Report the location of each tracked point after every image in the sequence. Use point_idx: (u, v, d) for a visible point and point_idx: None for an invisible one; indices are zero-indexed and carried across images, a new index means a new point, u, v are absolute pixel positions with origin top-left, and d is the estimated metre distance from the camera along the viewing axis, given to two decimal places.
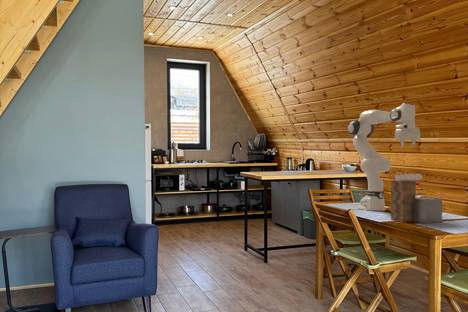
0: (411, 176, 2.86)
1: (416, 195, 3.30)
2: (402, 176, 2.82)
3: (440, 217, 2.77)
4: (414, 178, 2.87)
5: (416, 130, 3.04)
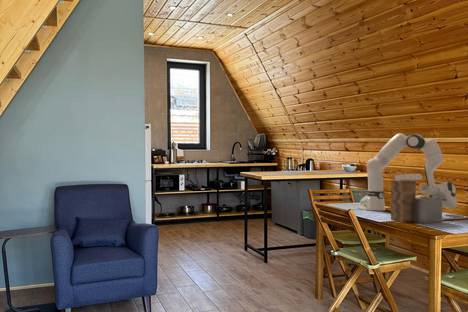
0: (411, 176, 2.86)
1: (416, 195, 3.30)
2: (402, 176, 2.82)
3: (440, 217, 2.77)
4: (414, 178, 2.87)
5: (428, 194, 3.04)
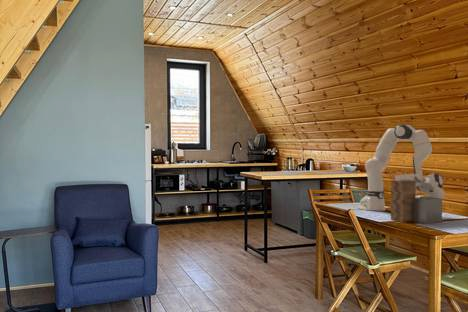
0: (411, 176, 2.86)
1: (416, 195, 3.30)
2: (402, 176, 2.82)
3: (440, 217, 2.77)
4: (414, 178, 2.87)
5: None
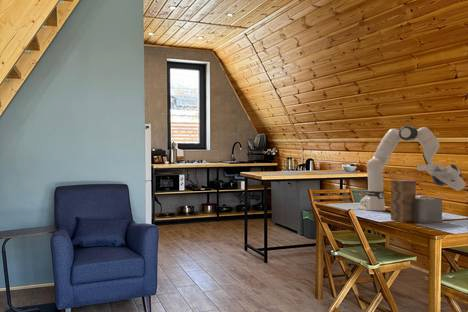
0: (433, 166, 2.88)
1: (416, 195, 3.30)
2: (424, 166, 2.84)
3: (440, 217, 2.77)
4: (436, 168, 2.89)
5: (436, 175, 3.00)
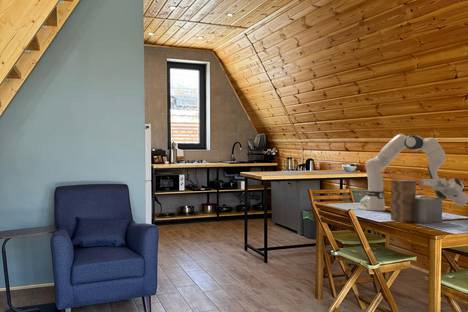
0: (435, 181, 2.79)
1: (416, 195, 3.30)
2: (426, 181, 2.76)
3: (440, 217, 2.77)
4: (438, 183, 2.80)
5: (438, 190, 2.91)
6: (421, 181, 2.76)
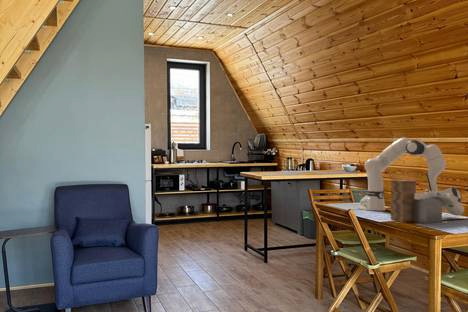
0: (430, 194, 2.78)
1: None
2: (421, 195, 2.74)
3: (440, 217, 2.77)
4: (433, 196, 2.79)
5: None
6: (416, 195, 2.75)
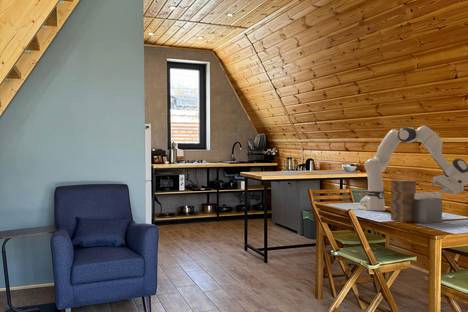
0: (430, 194, 2.78)
1: None
2: (421, 195, 2.74)
3: (440, 217, 2.77)
4: (433, 196, 2.79)
5: None
6: (416, 195, 2.75)
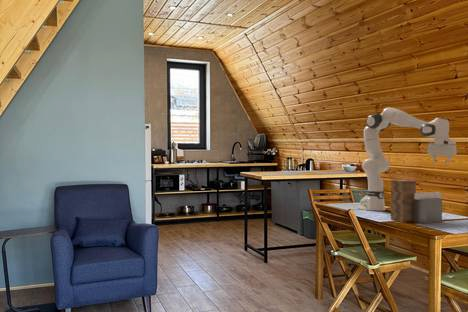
0: (430, 194, 2.78)
1: None
2: (421, 195, 2.74)
3: (440, 217, 2.77)
4: (433, 196, 2.79)
5: None
6: (416, 195, 2.75)
